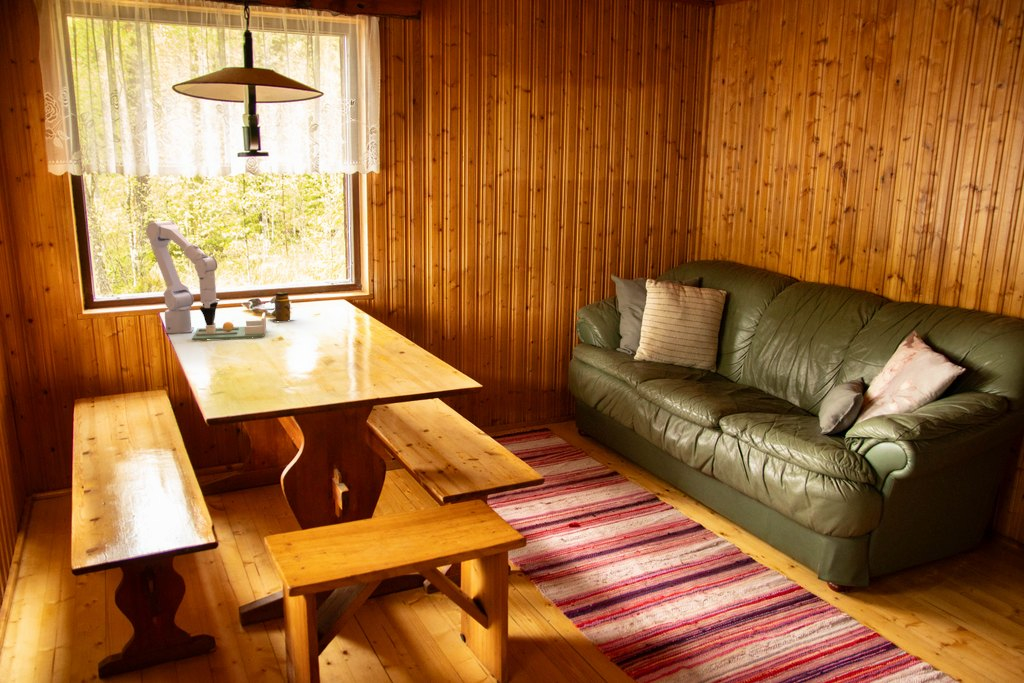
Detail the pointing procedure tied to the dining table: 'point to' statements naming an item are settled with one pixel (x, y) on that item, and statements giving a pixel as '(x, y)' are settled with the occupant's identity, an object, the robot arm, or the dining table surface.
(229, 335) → the pitch
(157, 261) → the robot arm
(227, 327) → the ball
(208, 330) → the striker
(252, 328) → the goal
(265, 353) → the dining table surface
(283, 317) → the condiment
